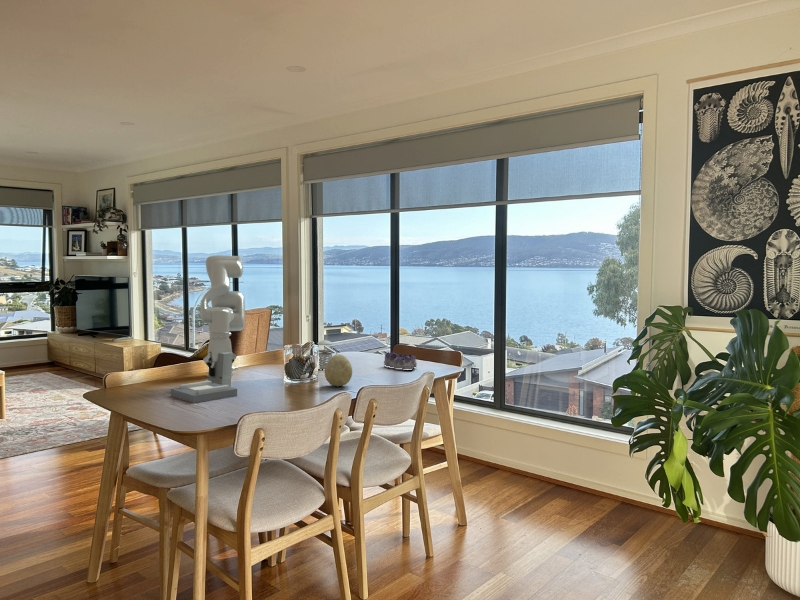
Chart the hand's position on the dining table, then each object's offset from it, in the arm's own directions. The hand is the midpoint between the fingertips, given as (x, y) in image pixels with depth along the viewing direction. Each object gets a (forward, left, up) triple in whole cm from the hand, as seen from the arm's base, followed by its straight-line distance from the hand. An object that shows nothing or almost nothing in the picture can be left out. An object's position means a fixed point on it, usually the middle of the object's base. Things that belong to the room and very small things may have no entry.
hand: (220, 374), depth 278 cm
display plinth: (+16, +13, -5) cm, 21 cm away
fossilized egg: (-39, +36, -5) cm, 53 cm away
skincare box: (0, 0, -5) cm, 5 cm away
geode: (-97, +23, -6) cm, 100 cm away
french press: (-67, -3, -5) cm, 67 cm away
